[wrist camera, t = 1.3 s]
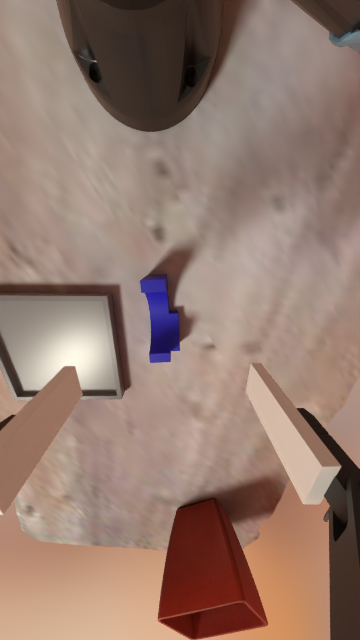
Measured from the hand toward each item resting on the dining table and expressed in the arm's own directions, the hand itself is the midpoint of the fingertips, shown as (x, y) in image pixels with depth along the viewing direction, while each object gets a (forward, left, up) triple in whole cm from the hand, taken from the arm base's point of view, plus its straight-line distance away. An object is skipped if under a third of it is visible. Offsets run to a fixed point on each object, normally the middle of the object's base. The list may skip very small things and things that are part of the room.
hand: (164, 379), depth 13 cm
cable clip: (0, -1, -17) cm, 17 cm away
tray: (+7, -19, -17) cm, 26 cm away
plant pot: (+65, +10, -17) cm, 68 cm away
